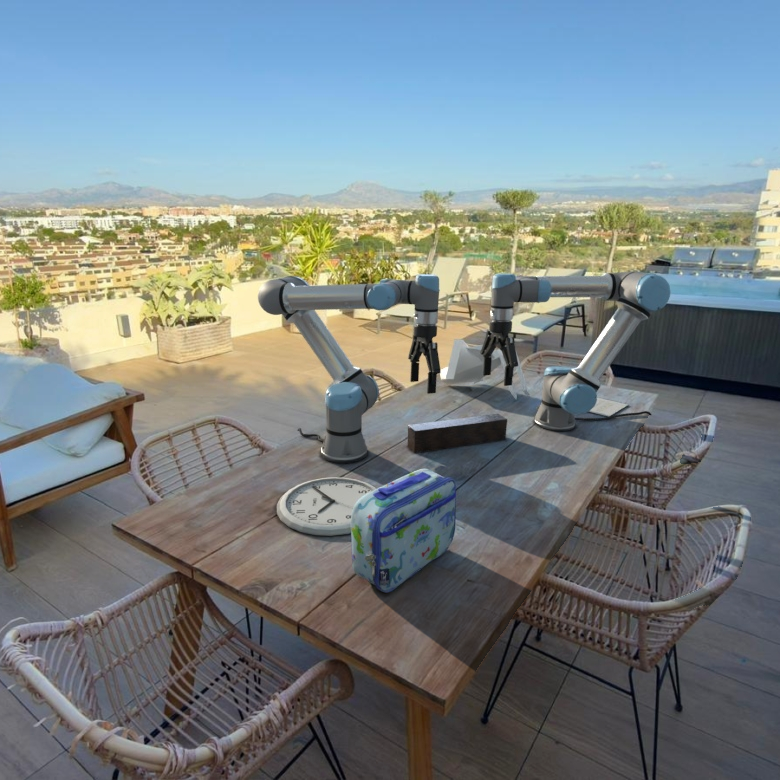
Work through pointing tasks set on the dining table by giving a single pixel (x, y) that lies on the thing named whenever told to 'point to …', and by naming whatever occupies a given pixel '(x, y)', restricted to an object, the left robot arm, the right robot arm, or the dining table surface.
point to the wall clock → (322, 505)
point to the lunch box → (402, 527)
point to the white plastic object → (475, 366)
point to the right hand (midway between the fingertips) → (497, 380)
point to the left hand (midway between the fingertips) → (422, 387)
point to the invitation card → (607, 407)
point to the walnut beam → (456, 432)
